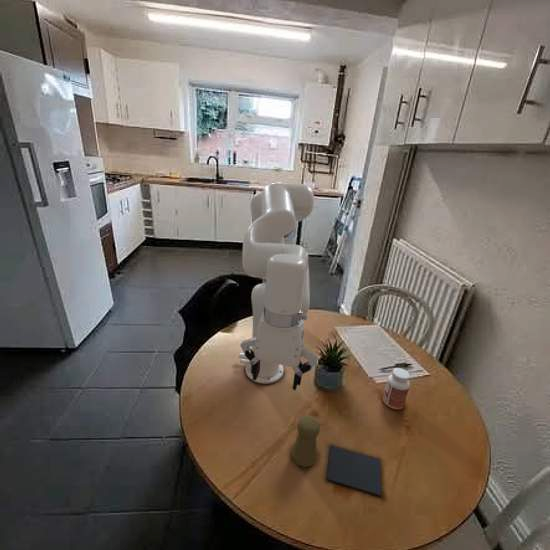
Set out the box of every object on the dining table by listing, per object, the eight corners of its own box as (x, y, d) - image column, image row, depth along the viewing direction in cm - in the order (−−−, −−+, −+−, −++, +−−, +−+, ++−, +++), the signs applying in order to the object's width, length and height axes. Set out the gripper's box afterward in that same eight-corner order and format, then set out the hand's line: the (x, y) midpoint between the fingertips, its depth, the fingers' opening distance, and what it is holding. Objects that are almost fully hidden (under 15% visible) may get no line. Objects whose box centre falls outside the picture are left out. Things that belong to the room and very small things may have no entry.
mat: (326, 479, 70) (326, 478, 70) (330, 446, 78) (330, 445, 78) (381, 496, 68) (381, 495, 68) (379, 460, 76) (379, 459, 76)
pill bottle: (408, 405, 93) (417, 376, 89) (395, 413, 90) (404, 383, 86) (390, 392, 98) (398, 363, 94) (378, 399, 95) (385, 370, 91)
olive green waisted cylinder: (290, 444, 78) (294, 411, 74) (313, 443, 79) (319, 411, 75) (293, 467, 73) (298, 433, 68) (318, 466, 73) (325, 432, 69)
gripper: (326, 313, 65) (315, 379, 71) (248, 298, 68) (244, 362, 75) (322, 332, 58) (311, 402, 65) (235, 314, 62) (233, 383, 68)
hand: (275, 380), depth 70 cm, fingers open, 8 cm apart
